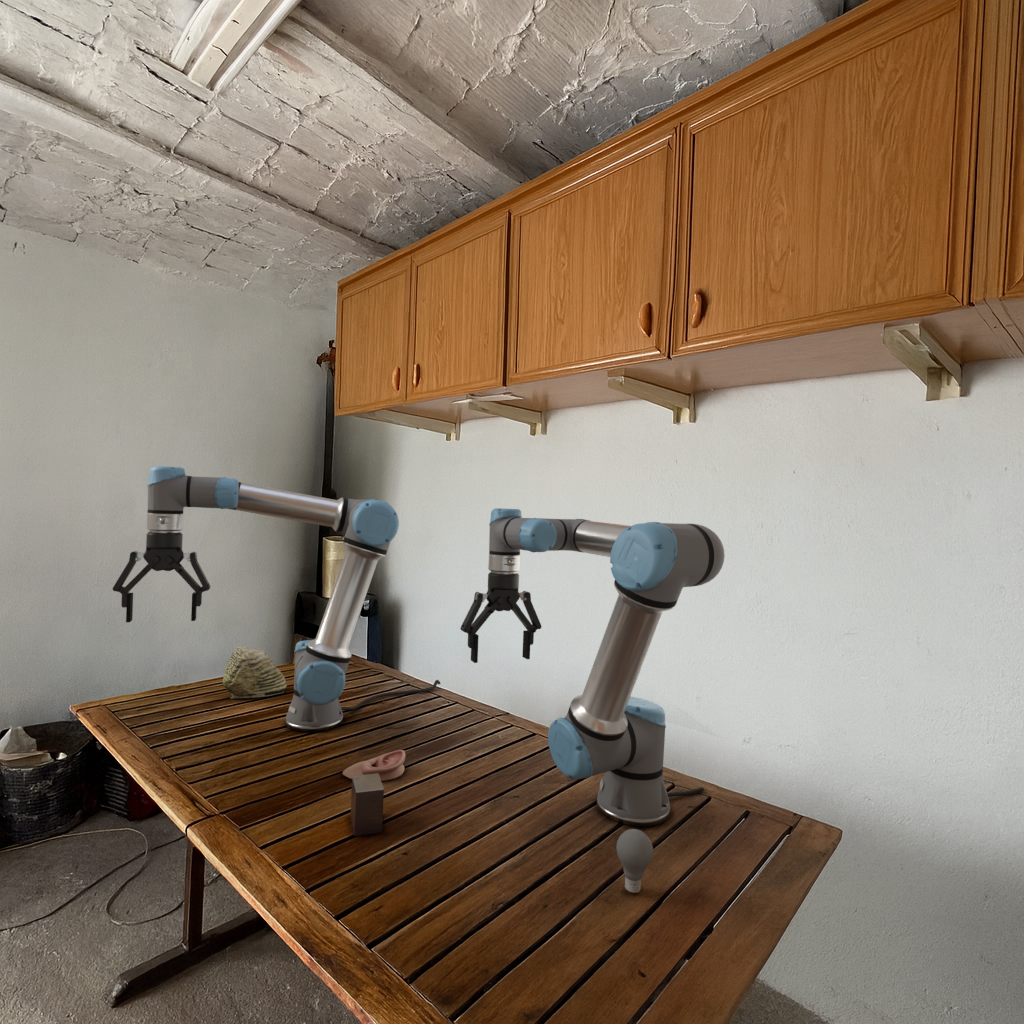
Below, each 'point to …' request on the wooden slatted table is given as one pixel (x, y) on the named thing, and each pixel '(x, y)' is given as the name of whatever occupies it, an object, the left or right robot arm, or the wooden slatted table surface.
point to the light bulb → (634, 857)
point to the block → (367, 804)
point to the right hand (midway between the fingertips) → (500, 659)
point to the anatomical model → (379, 766)
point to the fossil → (252, 674)
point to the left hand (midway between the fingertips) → (161, 620)
